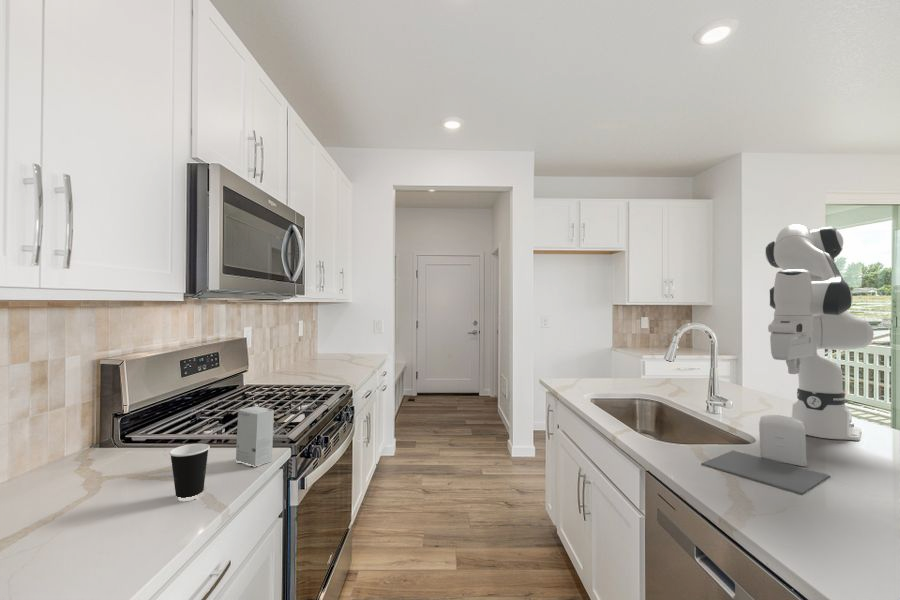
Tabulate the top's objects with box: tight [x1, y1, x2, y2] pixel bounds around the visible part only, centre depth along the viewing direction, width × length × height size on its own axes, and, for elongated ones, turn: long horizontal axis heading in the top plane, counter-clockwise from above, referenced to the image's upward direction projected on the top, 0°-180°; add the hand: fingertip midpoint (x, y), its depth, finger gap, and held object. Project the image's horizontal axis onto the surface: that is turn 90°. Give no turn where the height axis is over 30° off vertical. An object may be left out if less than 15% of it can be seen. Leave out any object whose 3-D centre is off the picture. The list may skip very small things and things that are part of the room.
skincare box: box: [235, 405, 275, 466], centre depth 119 cm, size 8×6×15 cm
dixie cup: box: [168, 443, 211, 498], centre depth 98 cm, size 8×8×11 cm
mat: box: [701, 449, 831, 496], centre depth 111 cm, size 18×22×1 cm
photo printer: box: [758, 414, 807, 467], centre depth 118 cm, size 10×4×12 cm, turn 39°
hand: (794, 373), depth 123 cm, fingers closed
